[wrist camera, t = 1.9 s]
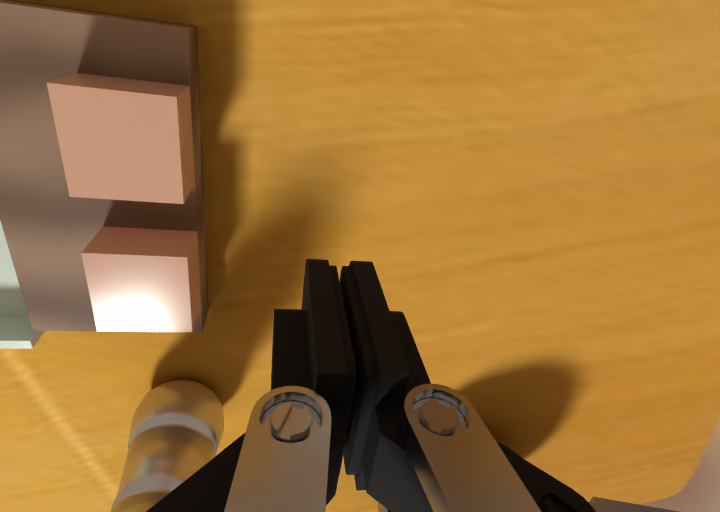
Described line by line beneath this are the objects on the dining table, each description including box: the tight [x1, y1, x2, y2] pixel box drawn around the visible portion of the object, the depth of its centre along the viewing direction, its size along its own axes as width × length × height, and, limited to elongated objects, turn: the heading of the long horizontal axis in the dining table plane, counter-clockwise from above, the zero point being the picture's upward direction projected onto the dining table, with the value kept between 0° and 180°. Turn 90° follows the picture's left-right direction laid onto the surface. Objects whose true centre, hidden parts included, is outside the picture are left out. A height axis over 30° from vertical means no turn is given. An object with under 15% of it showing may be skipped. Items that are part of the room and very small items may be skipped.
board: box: [0, 0, 208, 332], centre depth 24 cm, size 18×10×2 cm, turn 172°
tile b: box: [81, 226, 201, 332], centre depth 24 cm, size 5×5×3 cm
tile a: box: [47, 73, 195, 204], centre depth 21 cm, size 5×5×3 cm
